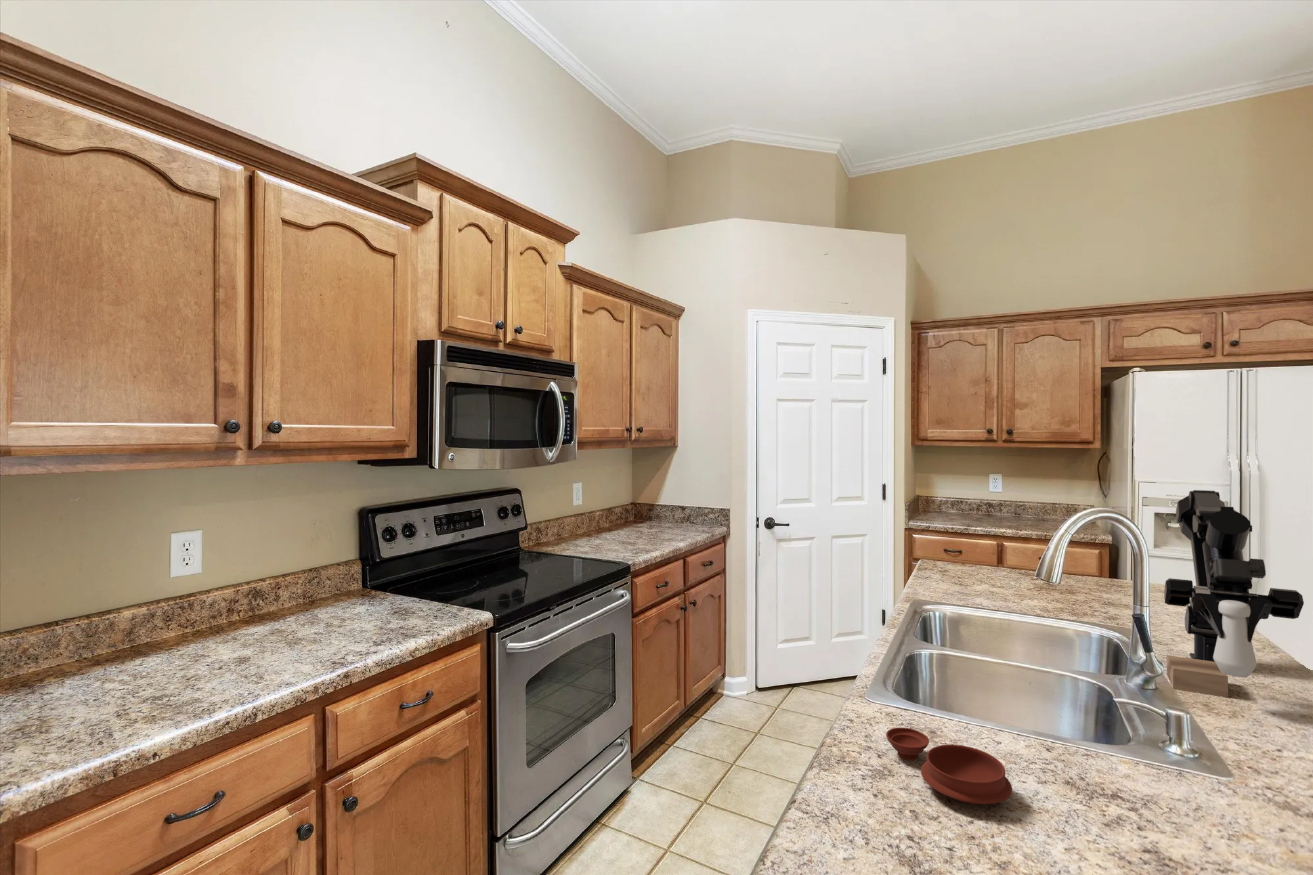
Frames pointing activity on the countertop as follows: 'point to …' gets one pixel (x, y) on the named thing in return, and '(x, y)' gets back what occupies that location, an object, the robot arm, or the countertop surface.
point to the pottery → (955, 768)
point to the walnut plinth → (1196, 676)
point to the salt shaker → (1234, 641)
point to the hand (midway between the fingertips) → (1235, 639)
